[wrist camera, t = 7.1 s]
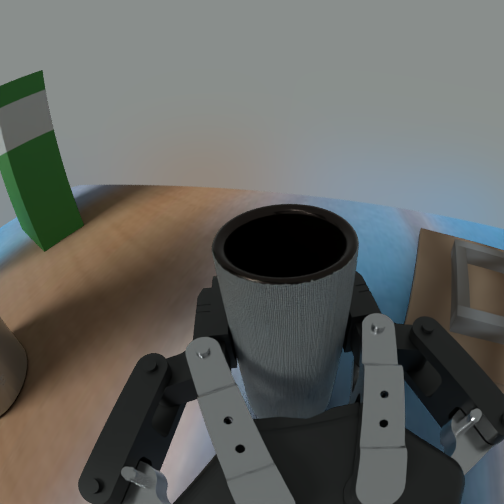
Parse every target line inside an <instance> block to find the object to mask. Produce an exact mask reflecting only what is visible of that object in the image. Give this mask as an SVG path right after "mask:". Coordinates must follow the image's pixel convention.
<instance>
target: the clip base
mask: <svg viewBox="0 0 504 504" xmlns="http://www.w3.org/2000/svg"><path fill="white" fill-rule="evenodd" d="M421 316H428V317H431V318H433V319H435V320H436V321H437V322H438V323H439V324H440V325H441V326H442V327H443V328H444V329H445V330H446V331H447V332H448V333H449V334H450V335H451V336H452V337H453V338H454V339H455V340H456V341H457V342H458V343H459V344H460V345H461V346H462V347H463V348H464V350H465V351H466V352H467V353H468V354H469V355H470V356H471V357H472V358H473V359H474V360H475V361H476V363H477V364H478V365H479V366H480V367H481V368H482V369H483V370H484V372H485V373H486V374H487V375H488V376H489V377H490V378H491V380H492V381H493V382H494V383H495V384H496V385H497V387H498V388H499V389H500V390H501V391H502V393H503V394H504V250H501V249H497V248H494V247H491V246H487V245H484V244H480V243H476V242H473V241H469V240H465V239H462V238H458V237H454V236H450V235H446V234H442V233H438V232H434V231H430V230H426V229H422V228H421V229H420V234H419V241H418V249H417V257H416V264H415V270H414V277H413V283H412V288H411V294H410V299H409V304H408V309H407V313H406V318H405V322H404V324H408V325H413V322H414V321H415V320H416V319H417V318H419V317H421Z"/></svg>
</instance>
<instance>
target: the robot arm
mask: <svg viewBox="0 0 504 504" xmlns="http://www.w3.org/2000/svg"><path fill="white" fill-rule="evenodd" d="M343 349H344V352H350V351H352V353H353V356H354V357H353V361H352V376H351V390H350V399H349V404H347V405H343V406H338V407H334V408H331V409H329V410H327V411H325V412H322V413H320V414H318V415H316V416H313V417H311V418H307V419H304V418H290V417H270V418H261V419H252V417H251V414H250V412H249V410H248V408H247V406H246V403H245V401H244V399H243V397H242V395H241V392H240V390H239V388H238V386H237V384H236V383H235V381H234V379H233V376H232V374H231V368H237V356H236V352H235V348H234V344H233V340H232V336H231V332H230V328H229V324H228V320H227V316H226V312H225V308H224V304H223V299H222V295H221V291H220V287H219V282H218V278H217V276H213V280H212V288H204V289H203V290H202V291H201V293H200V294H199V296H198V299H197V308H196V316H195V325H194V335H193V341H192V342H191V343H190V344H189V345H188V346H187V348H186V351H184V352H183V353H181V354H179V355H176V356H173V357H170V358H167V359H165V357H164V356H162V355H160V354H157V353H151V354H147V355H145V356H143V357H142V358H141V359H140V360H139V361H138V362H137V364H136V366H135V368H134V369H133V371H132V373H131V375H130V377H129V379H128V381H127V383H126V385H125V386H124V388H123V390H122V392H121V394H120V396H119V398H118V400H117V402H116V404H115V406H114V408H113V410H112V412H111V414H110V416H109V418H108V420H107V422H106V424H105V426H104V428H103V430H102V432H101V434H100V436H99V438H98V440H97V442H96V444H95V446H94V448H93V450H92V452H91V455H90V457H89V459H88V461H87V463H86V465H85V467H84V470H83V472H82V474H81V476H80V479H79V482H78V487H79V491H80V493H81V495H82V497H83V498H84V499H85V500H86V501H88V502H89V503H92V504H171V503H170V502H169V500H168V498H167V487H168V483H167V479H166V477H165V476H164V475H163V474H162V473H161V472H160V469H161V467H162V464H163V462H164V459H165V456H166V454H167V451H168V449H169V446H170V444H171V441H172V439H173V436H174V433H175V431H176V428H177V426H178V423H179V421H180V418H181V416H182V413H183V411H184V408H185V405H186V403H187V402H189V401H192V400H195V399H197V400H198V403H199V406H200V409H201V412H202V415H203V418H204V421H205V424H206V427H207V430H208V432H209V435H210V438H211V441H212V443H213V446H214V449H215V451H216V455H215V456H214V457H213V458H212V460H211V461H210V462H209V463H208V464H207V466H206V467H205V468H204V469H203V470H202V471H201V473H200V474H199V475H198V476H197V477H196V478H195V480H194V481H193V482H192V483H191V484H190V485H189V486H188V487H187V489H186V490H185V491H184V492H183V493H182V494H181V495H180V496H179V497H178V498H177V500H176V501H175V502H174V503H173V504H461V498H462V494H463V490H464V485H465V478H464V475H465V474H466V473H467V472H468V471H469V470H470V469H471V468H472V467H473V466H474V465H475V464H476V463H477V462H478V461H479V460H480V459H481V458H482V457H483V456H484V455H485V454H486V453H487V452H488V451H489V450H490V449H491V448H492V447H494V446H495V445H497V444H498V443H500V442H501V441H502V440H504V394H503V393H502V391H501V390H500V389H499V388H498V387H497V385H496V384H495V383H494V382H493V381H492V380H491V378H490V377H489V376H488V375H487V374H486V373H485V372H484V370H483V369H482V368H481V367H480V366H479V365H478V364H477V363H476V361H475V360H474V359H473V358H472V357H471V356H470V355H469V354H468V353H467V352H466V351H465V350H464V348H463V347H462V346H461V345H460V344H459V343H458V342H457V341H456V340H455V339H454V338H453V337H452V336H451V335H450V334H449V333H448V332H447V331H446V330H445V329H444V328H443V327H442V326H441V325H440V324H439V323H438V322H437V321H436V320H435V319H433V318H431V317H428V316H421V317H419V318H417V319H416V320H415V321H414V322H413V325H408V324H396V323H393V321H392V320H391V319H390V318H389V317H388V316H386V315H384V314H382V313H381V311H380V310H379V308H378V306H377V304H376V302H375V300H374V298H373V296H372V294H371V292H370V291H369V288H368V286H367V285H366V282H365V281H364V279H363V277H362V275H360V274H359V273H358V272H357V271H356V272H355V279H354V286H353V292H352V299H351V305H350V310H349V316H348V322H347V327H346V332H345V337H344V342H343ZM26 370H27V356H26V352H25V350H24V348H23V346H22V345H21V344H20V342H19V341H18V340H17V339H16V337H15V336H14V335H13V333H12V332H11V331H10V329H9V328H8V327H7V325H6V324H5V323H4V321H3V320H2V319H1V317H0V416H1V415H2V414H3V413H4V412H5V411H7V410H8V408H9V407H10V406H11V405H12V404H13V402H14V401H15V399H16V397H17V396H18V394H19V392H20V390H21V387H22V385H23V382H24V379H25V376H26ZM404 380H405V381H406V382H407V384H408V385H409V386H410V387H411V389H412V390H413V391H414V393H415V394H416V395H417V396H418V398H419V399H420V400H421V402H422V403H423V404H424V405H425V407H426V408H427V409H428V411H429V412H430V413H431V415H432V416H433V417H434V419H435V420H436V421H437V423H438V424H439V425H440V427H441V431H440V443H441V445H442V446H444V452H442V451H440V450H439V449H437V448H436V447H434V446H432V445H431V444H429V443H428V442H426V441H425V440H423V439H421V438H420V437H418V436H417V435H415V434H414V433H412V432H411V431H409V430H408V429H406V428H405V395H404Z"/></svg>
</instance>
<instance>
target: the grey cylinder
mask: <svg viewBox="0 0 504 504" xmlns="http://www.w3.org/2000/svg"><path fill="white" fill-rule="evenodd" d="M358 246H359V242H358V237H357V234H356V232H355V230H354V229H353V227H352V226H351V225H350V224H349V223H348V222H347V221H346V220H345V219H343V218H342V217H340V216H339V215H337V214H335V213H333V212H331V211H328V210H325V209H322V208H319V207H314V206H309V205H300V204H280V205H271V206H265V207H261V208H257V209H253V210H250V211H247V212H245V213H242V214H240V215H238V216H236V217H235V218H233V219H231V220H230V221H228V222H227V223H226V224H225V225H224V226H223V227H222V228H221V229H220V230H219V231H218V232H217V234H216V236H215V238H214V240H213V244H212V255H213V260H214V264H215V269H216V273H217V278H218V282H219V287H220V291H221V295H222V299H223V304H224V308H225V312H226V316H227V320H228V324H229V328H230V332H231V336H232V340H233V344H234V348H235V352H236V356H237V360H238V364H239V367H240V371H241V375H242V379H243V382H244V386H245V390H246V393H247V397H248V401H249V404H250V406H251V408H252V410H253V412H254V414H255V415H256V416H257V418H258V419H261V418H270V417H290V418H304V419H307V418H311V417H313V416H316V415H318V414H320V413H322V412H324V411H325V410H326V408H327V406H328V403H329V401H330V398H331V394H332V390H333V386H334V382H335V378H336V374H337V369H338V365H339V361H340V356H341V352H342V347H343V342H344V337H345V332H346V327H347V322H348V316H349V310H350V305H351V299H352V292H353V286H354V279H355V272H356V265H357V256H358Z"/></svg>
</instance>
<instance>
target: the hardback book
mask: <svg viewBox="0 0 504 504" xmlns="http://www.w3.org/2000/svg"><path fill="white" fill-rule="evenodd" d="M0 171H1V174H2V177H3V180H4V183H5V186H6V189H7V192H8V194H9V197H10V200H11V202H12V205H13V208H14V210H15V213H16V215H17V218H18V220H19V222H20V225H21V227H22V229H23V230H24V231H25V233H26V234H27V235H28V236H29V237H30V238H31V239H32V240H33V241H34V242H35V243H36V244H37V245H38V246H39V247H40V248H41V249H42V250H43V251H44V252H45V251H46V250H48V249H49V248H51V247H52V246H54V245H55V244H57V243H58V242H59V241H61V240H62V239H64V238H65V237H67V236H68V235H70V234H72V233H73V232H75V231H76V230H78V229H79V228H81V227H82V226H84V224H83V221H82V219H81V216H80V213H79V211H78V208H77V205H76V202H75V200H74V197H73V194H72V191H71V188H70V185H69V182H68V179H67V176H66V172H65V169H64V166H63V162H62V159H61V156H60V152H59V148H58V145H57V141H56V137H55V133H54V129H53V125H52V120H51V116H50V111H49V106H48V101H47V97H46V90H45V84H44V78H43V71H42V70H41V71H38V72H35V73H32V74H30V75H27V76H24V77H21V78H19V79H16V80H14V81H11V82H9V83H6V84H4V85H1V86H0Z"/></svg>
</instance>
